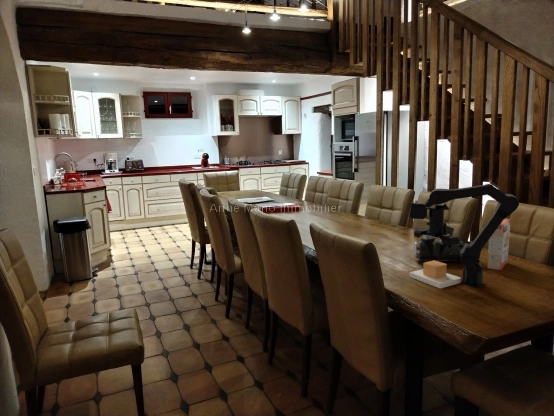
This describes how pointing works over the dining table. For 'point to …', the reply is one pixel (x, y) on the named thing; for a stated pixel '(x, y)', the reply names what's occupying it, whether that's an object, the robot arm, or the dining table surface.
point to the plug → (435, 269)
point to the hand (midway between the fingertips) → (435, 256)
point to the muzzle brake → (448, 254)
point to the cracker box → (499, 246)
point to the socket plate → (437, 282)
